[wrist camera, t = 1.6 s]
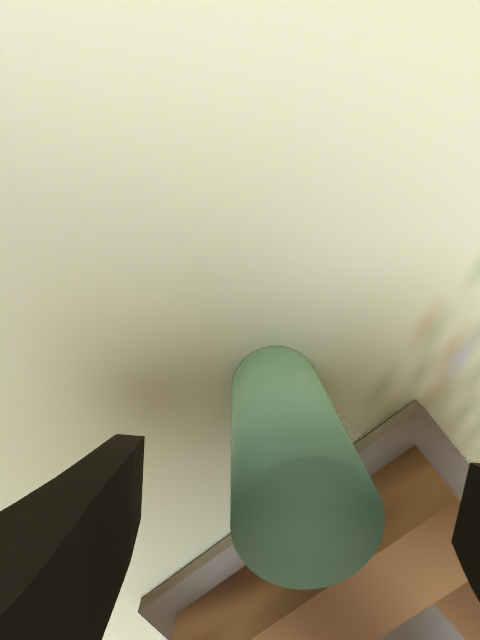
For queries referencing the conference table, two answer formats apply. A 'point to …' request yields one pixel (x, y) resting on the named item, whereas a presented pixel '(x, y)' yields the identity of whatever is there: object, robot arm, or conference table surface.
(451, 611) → the socket
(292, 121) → the conference table surface
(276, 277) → the conference table surface
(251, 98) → the conference table surface
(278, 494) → the peg
